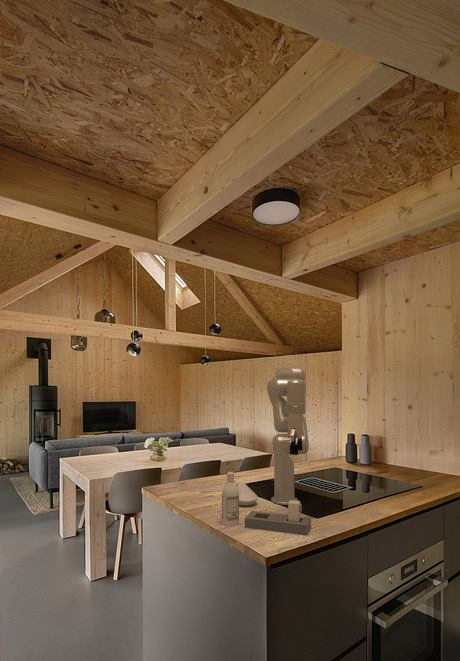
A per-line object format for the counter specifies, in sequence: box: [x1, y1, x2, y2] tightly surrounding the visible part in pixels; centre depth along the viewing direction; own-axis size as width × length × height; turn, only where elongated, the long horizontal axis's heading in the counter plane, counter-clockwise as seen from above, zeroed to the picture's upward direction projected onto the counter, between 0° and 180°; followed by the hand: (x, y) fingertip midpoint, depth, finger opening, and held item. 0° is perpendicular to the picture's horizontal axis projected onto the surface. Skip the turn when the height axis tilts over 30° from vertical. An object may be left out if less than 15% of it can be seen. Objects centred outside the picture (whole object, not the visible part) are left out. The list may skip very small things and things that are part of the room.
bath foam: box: [221, 471, 240, 527], centre depth 167 cm, size 7×7×20 cm
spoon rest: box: [236, 482, 258, 507], centre depth 200 cm, size 24×12×7 cm, turn 9°
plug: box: [287, 500, 303, 523], centre depth 160 cm, size 4×5×10 cm
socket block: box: [244, 510, 312, 536], centre depth 161 cm, size 10×24×4 cm, turn 71°
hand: (296, 452), depth 169 cm, fingers open, 9 cm apart
